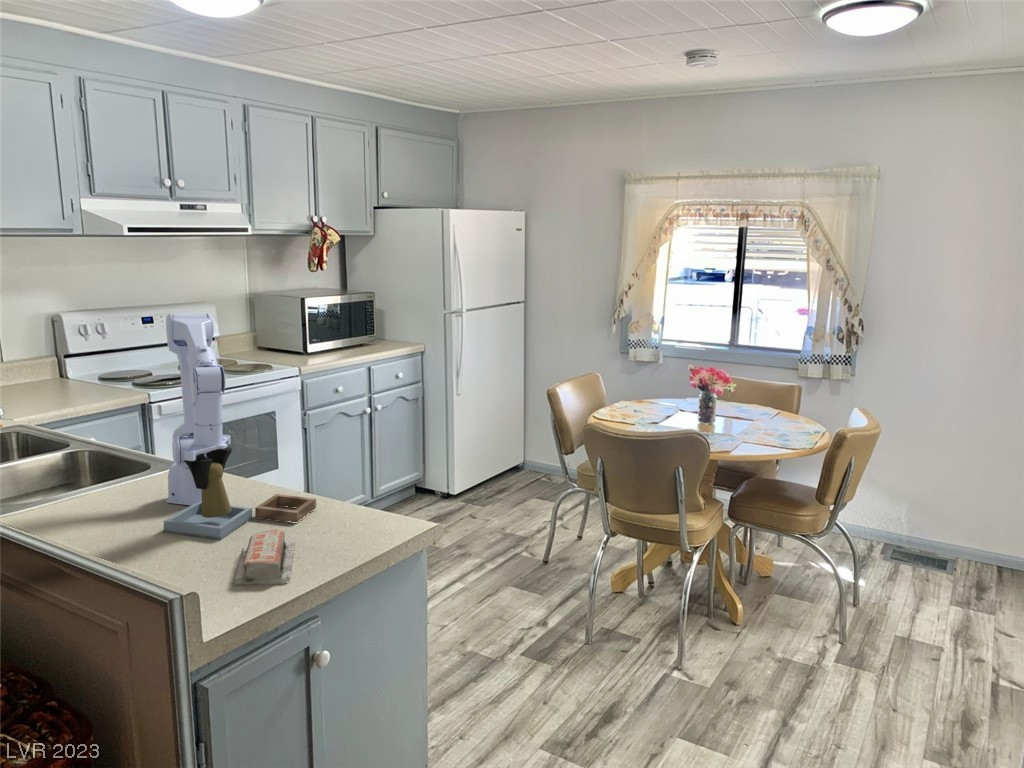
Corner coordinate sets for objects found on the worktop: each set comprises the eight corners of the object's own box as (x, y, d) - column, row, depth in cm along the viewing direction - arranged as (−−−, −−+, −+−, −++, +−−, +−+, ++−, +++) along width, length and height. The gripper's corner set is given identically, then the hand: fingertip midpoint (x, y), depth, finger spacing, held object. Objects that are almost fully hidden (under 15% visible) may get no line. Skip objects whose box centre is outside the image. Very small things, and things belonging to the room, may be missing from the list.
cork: (227, 516, 167) (219, 466, 165) (198, 518, 167) (190, 469, 165) (234, 506, 173) (227, 458, 171) (206, 509, 173) (199, 461, 171)
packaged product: (290, 561, 145) (233, 563, 142) (290, 586, 146) (233, 588, 143) (295, 525, 162) (244, 526, 160) (295, 547, 163) (245, 549, 161)
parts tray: (163, 532, 165) (163, 521, 165) (199, 511, 178) (198, 501, 178) (220, 539, 163) (220, 528, 163) (252, 518, 176) (252, 508, 175)
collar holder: (255, 518, 176) (255, 507, 176) (276, 504, 186) (276, 493, 185) (297, 523, 175) (297, 512, 174) (316, 508, 184) (316, 498, 184)
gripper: (206, 432, 159) (207, 497, 161) (243, 417, 173) (243, 476, 175) (174, 429, 160) (175, 493, 162) (213, 414, 174) (214, 473, 176)
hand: (208, 484), depth 169 cm, fingers closed on cork, 5 cm apart
